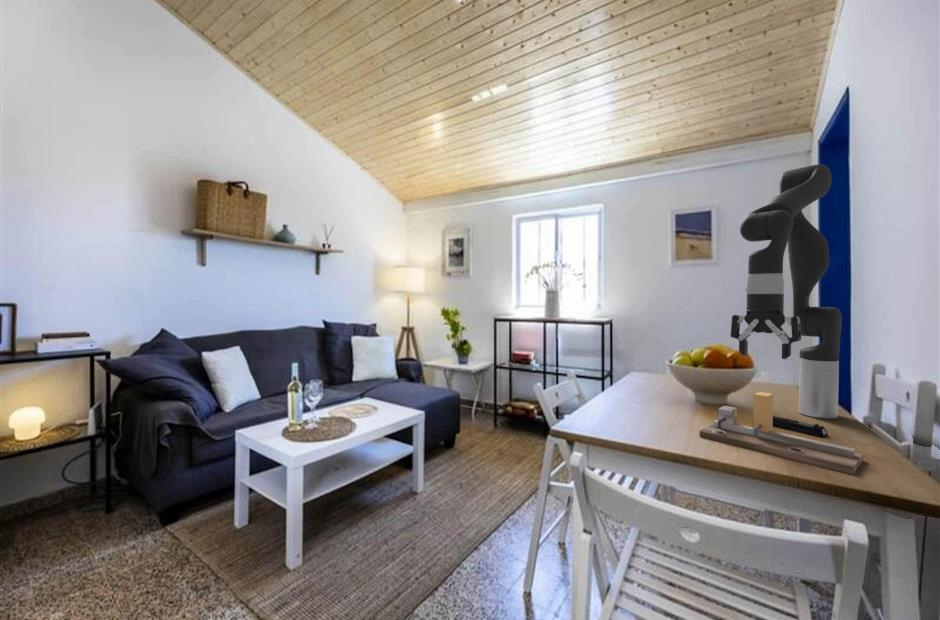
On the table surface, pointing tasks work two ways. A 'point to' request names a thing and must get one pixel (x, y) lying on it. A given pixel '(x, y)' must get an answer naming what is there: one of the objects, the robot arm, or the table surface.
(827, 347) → the robot arm
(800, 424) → the electric trimmer
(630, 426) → the table surface
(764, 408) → the block
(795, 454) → the bolt plate
